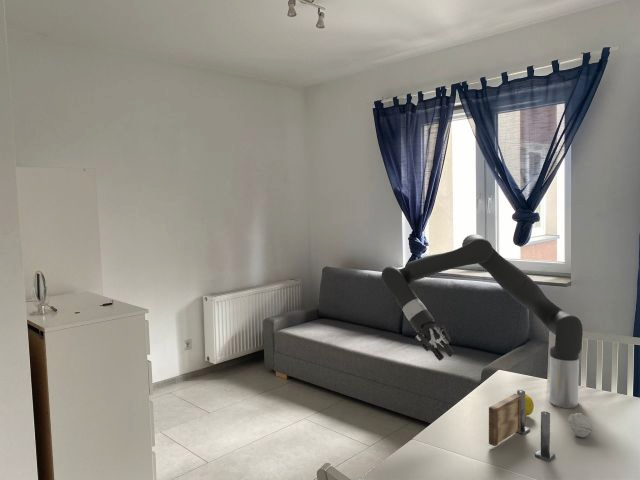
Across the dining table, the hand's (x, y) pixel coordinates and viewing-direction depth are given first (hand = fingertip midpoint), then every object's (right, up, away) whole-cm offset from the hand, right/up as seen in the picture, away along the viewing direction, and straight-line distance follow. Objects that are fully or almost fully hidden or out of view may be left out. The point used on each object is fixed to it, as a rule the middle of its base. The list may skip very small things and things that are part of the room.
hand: (447, 357), depth 157 cm
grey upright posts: (+23, -24, -11) cm, 35 cm away
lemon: (+28, -22, +6) cm, 36 cm away
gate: (+16, -22, -9) cm, 29 cm away
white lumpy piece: (+40, -23, -8) cm, 46 cm away
